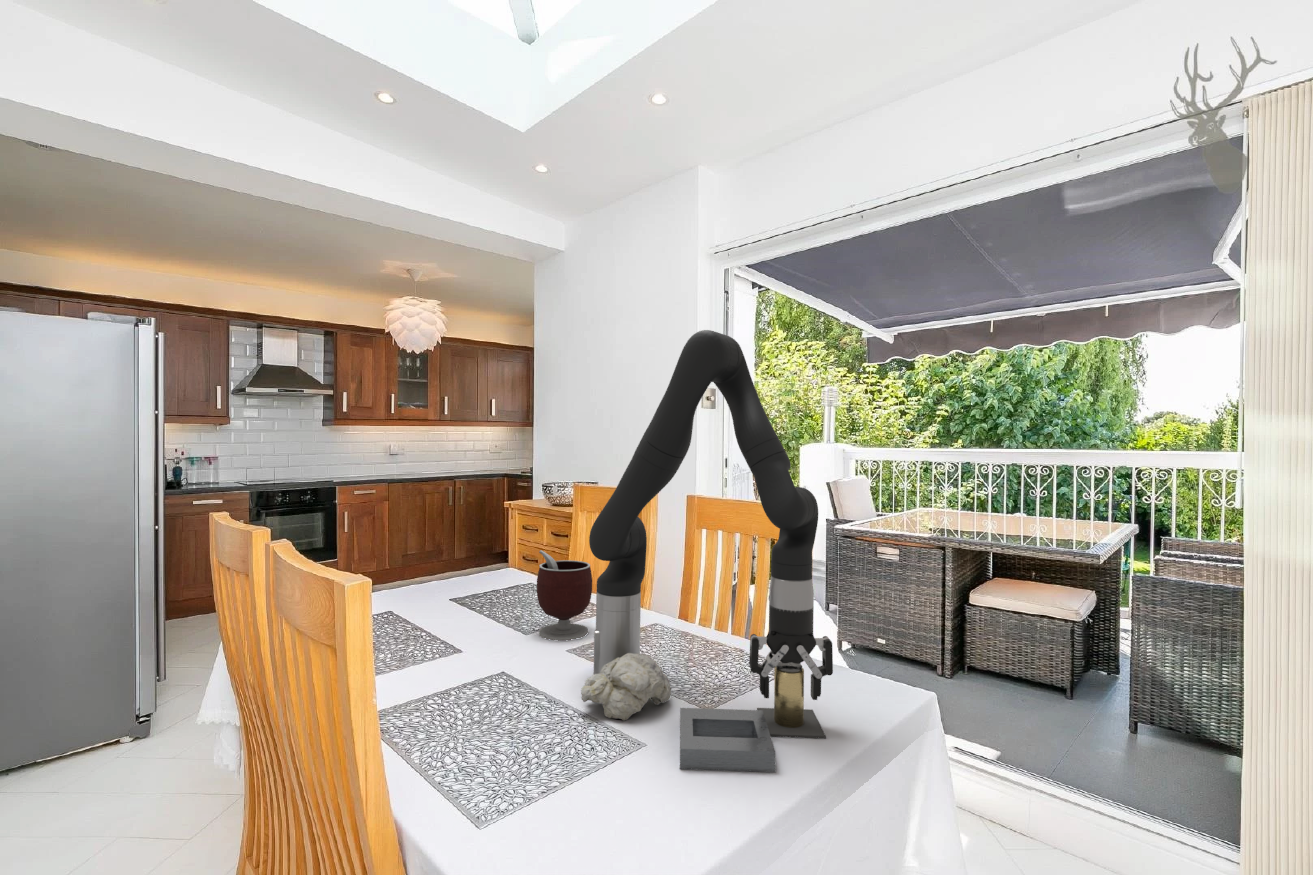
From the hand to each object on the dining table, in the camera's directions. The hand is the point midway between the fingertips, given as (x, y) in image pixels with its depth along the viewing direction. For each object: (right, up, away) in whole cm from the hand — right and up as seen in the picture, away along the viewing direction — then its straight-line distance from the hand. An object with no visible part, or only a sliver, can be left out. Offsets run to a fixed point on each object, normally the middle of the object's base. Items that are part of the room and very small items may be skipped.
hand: (790, 697), depth 105 cm
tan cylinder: (0, -4, 0) cm, 4 cm away
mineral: (-28, -5, +5) cm, 29 cm away
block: (-12, -4, -9) cm, 16 cm away
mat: (0, -5, 0) cm, 5 cm away
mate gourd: (-47, -5, +49) cm, 68 cm away
